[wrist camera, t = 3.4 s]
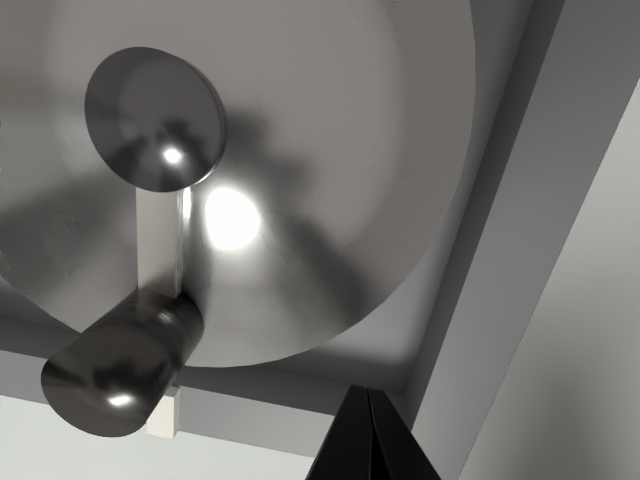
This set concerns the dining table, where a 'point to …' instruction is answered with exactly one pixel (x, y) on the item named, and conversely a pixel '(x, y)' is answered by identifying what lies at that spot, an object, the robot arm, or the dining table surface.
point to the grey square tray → (427, 255)
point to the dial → (219, 177)
